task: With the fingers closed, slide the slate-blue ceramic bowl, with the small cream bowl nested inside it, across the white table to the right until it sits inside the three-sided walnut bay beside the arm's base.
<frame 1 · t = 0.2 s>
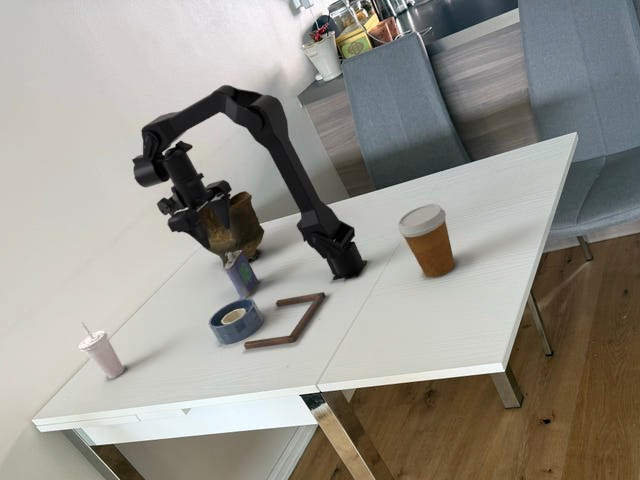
hand: (218, 238, 157), 15 cm above the table, tool pointing down, fingers open, 9 cm apart
flask: (250, 291, 164), on the table
small bowl: (240, 329, 147), resting on bowl
smoothie: (117, 373, 154), on the table
bay: (287, 323, 142), on the table
pottery vessel: (244, 260, 184), on the table
disposable coffee cup: (440, 269, 136), on the table
bowl: (242, 330, 147), on the table, touching small bowl
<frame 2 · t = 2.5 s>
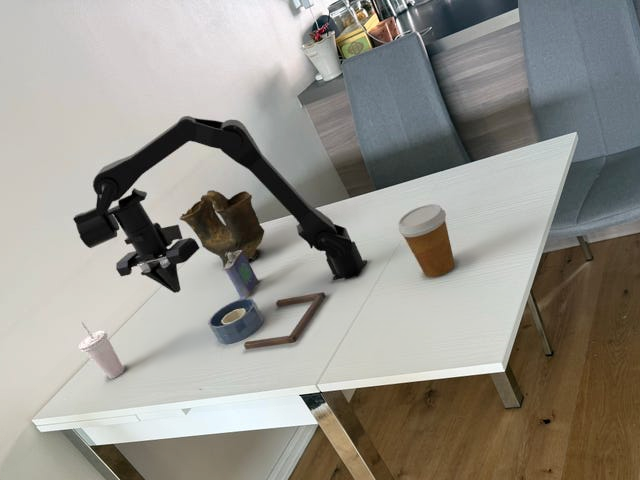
hand: (177, 291, 146), 12 cm above the table, tool pointing down, fingers closed
nothing on the table moved.
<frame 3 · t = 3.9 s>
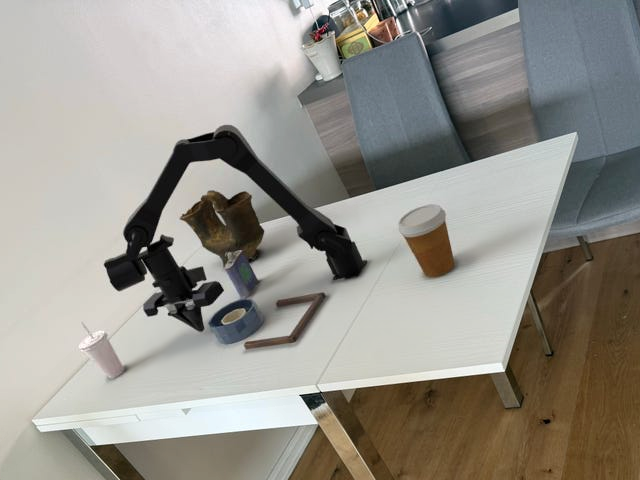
hand: (202, 330, 151), 2 cm above the table, tool pointing down, fingers closed
nothing on the table moved.
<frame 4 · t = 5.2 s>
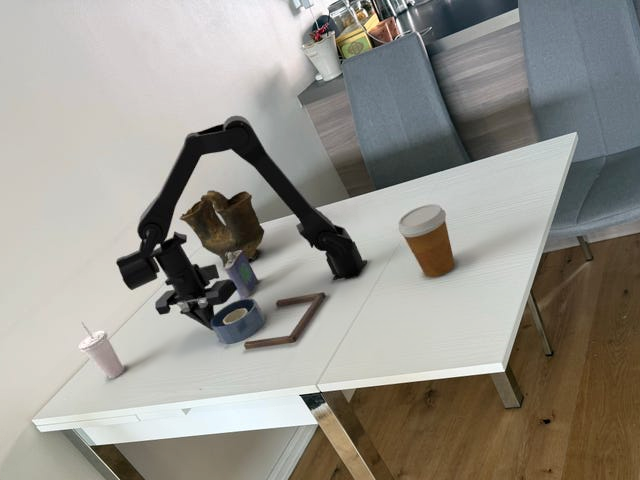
hand: (214, 329, 150), 1 cm above the table, tool pointing down, fingers closed
small bowl: (242, 328, 147), point 1 cm above the table
bowl: (243, 330, 147), on the table, touching gripper
everything else where it was.
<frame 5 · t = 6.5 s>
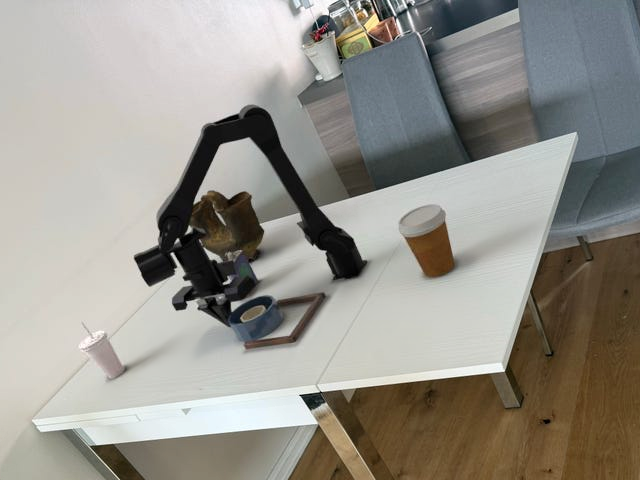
hand: (231, 326, 147), 2 cm above the table, tool pointing down, fingers closed
small bowl: (260, 326, 145), point 1 cm above the table, touching bowl
bowl: (261, 328, 145), on the table, touching gripper, small bowl
everything else where it was.
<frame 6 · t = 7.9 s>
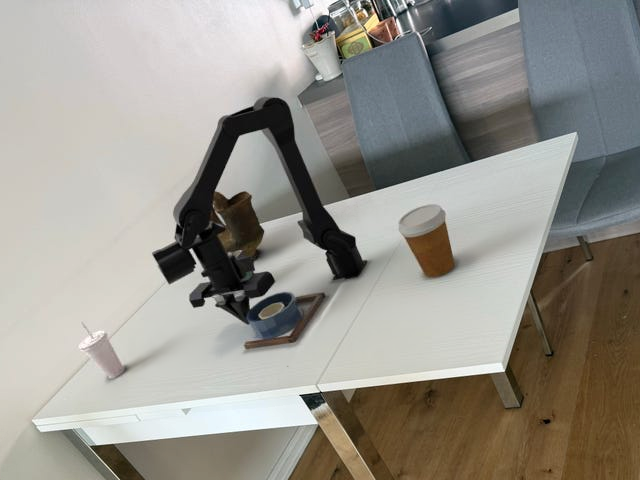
hand: (249, 323, 145), 2 cm above the table, tool pointing down, fingers closed
small bowl: (278, 323, 142), point 1 cm above the table, touching bowl
bowl: (280, 325, 143), on the table, touching gripper, small bowl
everything else where it was.
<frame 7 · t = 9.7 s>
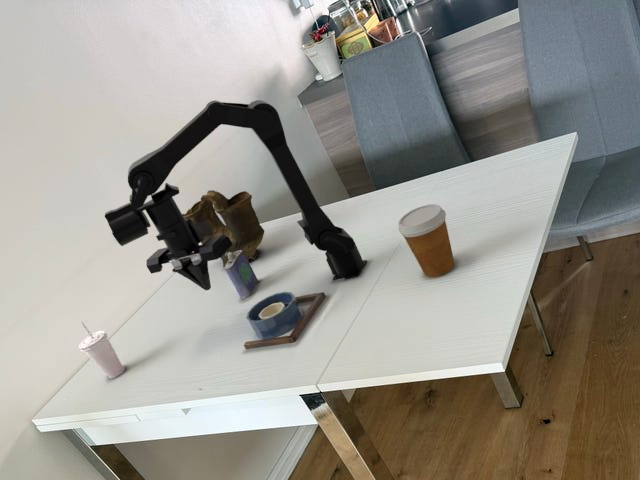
hand: (208, 289, 143), 11 cm above the table, tool pointing down, fingers closed
bowl: (280, 325, 142), on the table, touching small bowl
everything else where it was.
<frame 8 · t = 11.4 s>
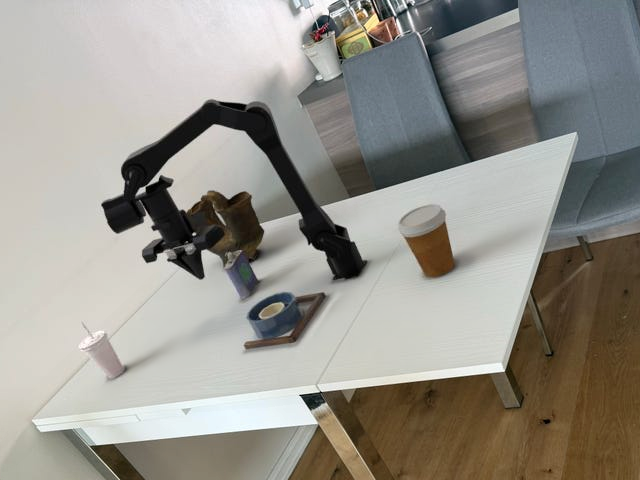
hand: (202, 278, 147), 12 cm above the table, tool pointing down, fingers closed
nothing on the table moved.
at the end: bowl 0.6 cm from the target spot, on the table; bowl tilted 0°; small bowl 0.2 cm from the bowl (horizontally) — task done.
